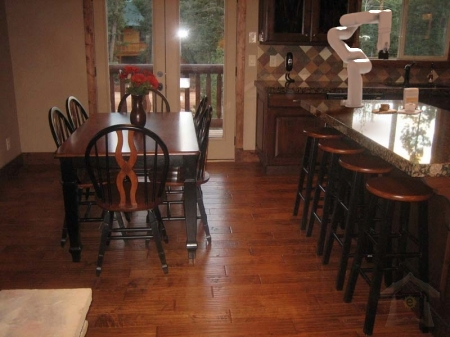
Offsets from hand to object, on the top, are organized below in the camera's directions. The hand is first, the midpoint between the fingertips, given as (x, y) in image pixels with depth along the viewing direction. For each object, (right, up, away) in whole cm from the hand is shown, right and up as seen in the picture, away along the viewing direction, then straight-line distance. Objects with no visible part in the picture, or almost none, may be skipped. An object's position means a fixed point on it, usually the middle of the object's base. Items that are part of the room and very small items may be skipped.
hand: (383, 59), depth 293 cm
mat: (+15, -34, -5) cm, 38 cm away
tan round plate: (+1, -33, +1) cm, 33 cm away
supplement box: (+21, -30, +10) cm, 38 cm away
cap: (+15, -33, -5) cm, 37 cm away
